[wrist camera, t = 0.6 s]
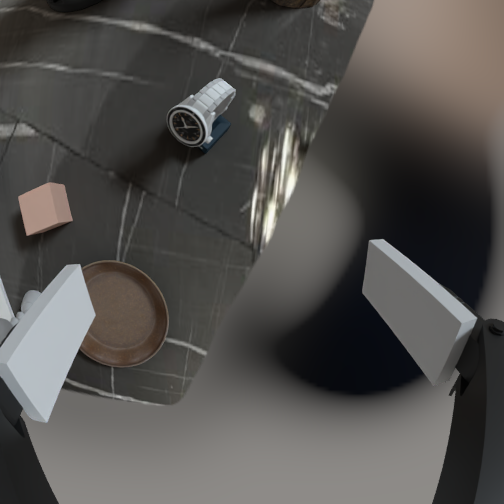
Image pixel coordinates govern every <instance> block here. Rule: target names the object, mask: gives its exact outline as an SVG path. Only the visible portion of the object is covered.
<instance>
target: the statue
mask: <svg viewBox="0 0 504 504" xmlns="http://www.w3.org/2000/svg"><path fill="white" fill-rule="evenodd" d="M271 1H273V2H274V3H276V4H278V5H280V6H287V7H292V8H296V7H297V8H305V7H313V6H314V5H316V4H317V3H318V2H319V1H320V0H271Z"/></svg>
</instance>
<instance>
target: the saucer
mask: <svg viewBox="0 0 504 504" xmlns="http://www.w3.org/2000/svg"><path fill="white" fill-rule="evenodd" d="M81 270H82V273H83V277H84V280H85V284H86V287H87V290H88V293H89V297H90V300H91V303H92V306H93V309H94V312H95V315H96V316H95V317H94V319H93V321H92V323H91V325H90V327H89V329H88V331H87V333H86V335H85V337H84V339H83V341H82V343H81V345H80V347H79V349H80V350H81V351H82V352H83V353H84V354H86V355H87V356H88V357H90V358H91V359H93V360H95V361H97V362H99V363H102V364H104V365H108V366H112V367H131V366H136V365H139V364H141V363H144V362H145V361H147V360H149V359H150V358H151V357H153V356H154V355H155V354H156V353H157V352H158V351H159V349H160V348H161V346H162V345H163V343H164V341H165V338H166V335H167V331H168V325H169V316H168V309H167V305H166V302H165V299H164V297H163V295H162V293H161V291H160V290H159V288H158V287H157V285H156V284H155V283H154V282H153V280H152V279H151V278H150V277H149V276H147V275H146V274H145V273H144V272H142V271H141V270H139V269H138V268H136V267H134V266H132V265H130V264H127V263H124V262H120V261H114V260H104V261H98V262H94V263H91V264H89V265H86V266H85V267H83V268H81Z"/></svg>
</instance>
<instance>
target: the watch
mask: <svg viewBox="0 0 504 504" xmlns="http://www.w3.org/2000/svg"><path fill="white" fill-rule="evenodd" d="M235 92H236V90H235V89H234V88H233V87H231V86H230V85H229V84H228V83H226V82H225V81H224V80H223V79H221V78H219V79H216V80H213V81H212V82H210V83H209V84H207V85H206V86H205V87H204V88H203V89H201V90H200V91H199V92H198V93H197V94H196V95H195V96H193V95H191V96H190V97H188V98H187V99H185V100H184V101H183V102H181V103H180V104H178V105H177V106H175V107H173V108H172V109H171V110H170V111H169V113H168V115H167V124H168V127H169V130H170V131H171V133H172V135H173V136H174V137H175V138H176V139H177V140H178V141H179V142H181V143H183V144H184V145H187V146H190V147H198V148H199V149H200V150H201V151H203V152H204V153H205V154H206V153H207V152H208V151H209V150H210V149H211V148H212V147H213V145H214V144H215V143H216V142H217V141H218V140H219V139H220V138H221V137H222V136H223V135H224V134H225V133H226V132H227V130H228V129H229V127H230V125H231V123H230V122H228V121H227V120H226V119H225V118H224V117H222V116H221V115H220V114H222V113H223V112H224V110H226V109H227V106H228V105H229V104H230V102H231V101H232V100H233V98H234V97H235Z"/></svg>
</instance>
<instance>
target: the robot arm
mask: <svg viewBox="0 0 504 504" xmlns="http://www.w3.org/2000/svg"><path fill="white" fill-rule="evenodd" d="M46 1H47V2H48V4H49V6H50V7H51V8H52V9H53V10H56V11H59V12H71V11H76V10H80V9H84V8H87V7H89V6H92V5H94V4H96V3H98V2H100V1H102V0H46ZM362 293H363V294H364V295H365V296H366V298H367V299H368V300H369V301H370V303H371V304H372V305H373V306H374V308H375V309H376V310H377V312H378V313H379V314H380V315H381V316H382V318H383V319H384V320H385V322H386V323H387V324H388V326H389V327H390V328H391V329H392V331H393V332H394V333H395V335H396V336H397V337H398V339H399V340H400V341H401V342H402V344H403V345H404V346H405V348H406V349H407V350H408V352H409V353H410V354H411V356H412V357H413V358H414V360H415V361H416V363H417V364H418V365H419V367H420V368H421V369H422V371H423V372H424V373H425V375H426V376H427V378H428V379H429V380H430V382H431V383H432V385H433V386H436V385H439V384H441V383H443V382H446V381H448V380H449V379H450V377H451V376H452V374H453V371H454V370H455V368H456V369H457V370H458V371H459V373H460V375H459V376H458V378H457V380H456V382H455V384H454V386H453V388H452V389H451V391H450V394H449V395H450V396H451V395H452V394H453V392H454V391H455V390H456V393H455V402H454V410H453V417H452V423H451V429H450V435H449V440H448V446H447V451H446V455H445V459H444V464H443V468H442V472H441V476H440V479H439V483H438V486H437V490H436V493H435V496H434V500H433V503H432V504H504V322H502V321H500V320H497V319H488V320H486V321H485V320H483V318H482V317H480V316H479V315H478V314H477V313H476V312H475V311H474V310H473V309H472V308H471V307H469V306H468V305H467V304H466V303H464V302H463V300H462V299H460V298H459V297H457V295H456V294H455V293H453V292H452V291H451V290H450V289H448V288H446V287H444V286H442V285H440V284H438V283H437V282H436V281H435V280H433V279H432V278H431V277H430V276H429V275H427V274H426V273H425V272H424V271H423V270H421V269H420V268H419V267H418V266H416V265H415V264H414V263H413V262H411V261H410V260H409V259H408V258H406V257H405V256H404V255H403V254H401V253H400V252H399V251H398V250H396V249H395V248H394V247H392V246H391V245H390V244H388V243H387V242H386V241H385V240H383V239H381V240H369V246H368V254H367V262H366V269H365V277H364V283H363V290H362ZM95 316H96V315H95V312H94V309H93V306H92V303H91V300H90V297H89V293H88V290H87V287H86V284H85V280H84V277H83V273H82V270H81V266H80V264H74V265H66V266H65V267H64V268H63V270H62V271H61V272H60V273H59V274H58V275H57V276H56V277H55V279H54V280H53V281H52V282H51V283H50V284H49V285H48V287H47V288H46V289H45V290H44V291H43V293H42V294H41V295H40V296H39V297H38V299H37V300H36V301H35V302H34V304H33V305H32V306H31V307H30V309H29V310H28V311H27V312H26V314H25V315H24V316H23V317H22V319H21V320H20V321H19V322H18V323H17V324H16V325H15V326H14V327H12V329H11V330H10V331H9V333H8V334H7V335H6V338H4V339H3V341H2V342H1V344H0V504H59V503H58V501H57V499H56V497H55V495H54V493H53V492H52V489H51V487H50V485H49V483H48V481H47V479H46V477H45V474H44V472H43V470H42V467H41V465H40V463H39V460H38V458H37V455H36V453H35V450H34V448H33V445H32V442H31V440H30V437H29V434H28V431H27V428H26V425H25V422H24V421H23V419H22V417H21V416H20V414H21V412H22V410H23V409H24V411H25V412H26V413H27V415H28V416H29V417H30V418H31V419H32V420H36V421H41V422H46V423H47V422H48V419H49V417H50V414H51V411H52V409H53V406H54V404H55V401H56V399H57V397H58V394H59V392H60V389H61V387H62V385H63V382H64V380H65V378H66V376H67V373H68V371H69V369H70V367H71V364H72V362H73V360H74V358H75V356H76V354H77V352H78V349H79V347H80V345H81V343H82V341H83V339H84V337H85V335H86V333H87V331H88V329H89V327H90V325H91V323H92V321H93V319H94V317H95Z"/></svg>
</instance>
